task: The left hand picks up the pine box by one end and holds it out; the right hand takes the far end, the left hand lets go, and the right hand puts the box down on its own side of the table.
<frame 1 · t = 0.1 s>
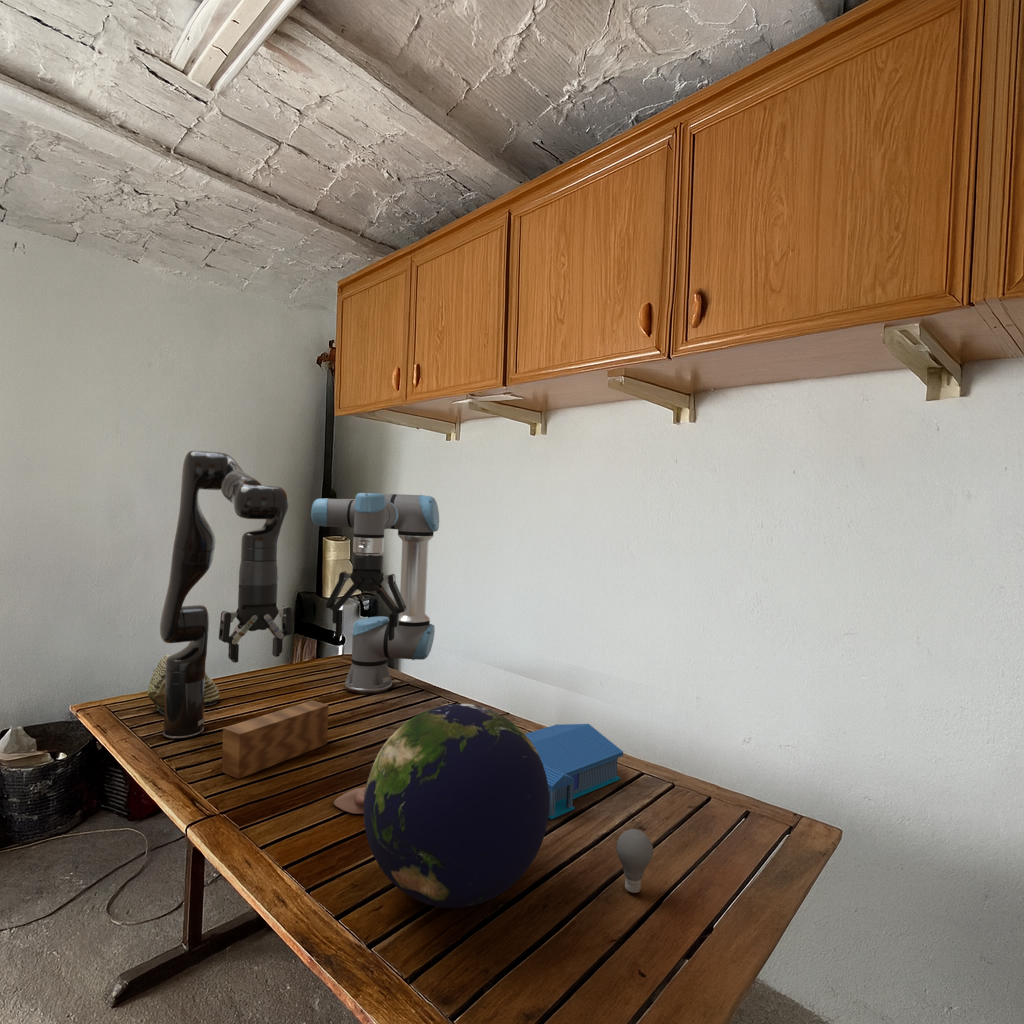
left hand: (255, 658, 132), 29 cm above the table, tool pointing down, fingers open, 8 cm apart
right hand: (364, 638, 160), 28 cm above the table, tool pointing down, fingers open, 13 cm apart
box: (277, 757, 153), on the table
model building: (534, 788, 142), on the table
anatomical model: (368, 802, 132), on the table
fossil: (183, 706, 185), on the table
globe: (453, 892, 103), on the table
light bulb: (632, 891, 106), on the table
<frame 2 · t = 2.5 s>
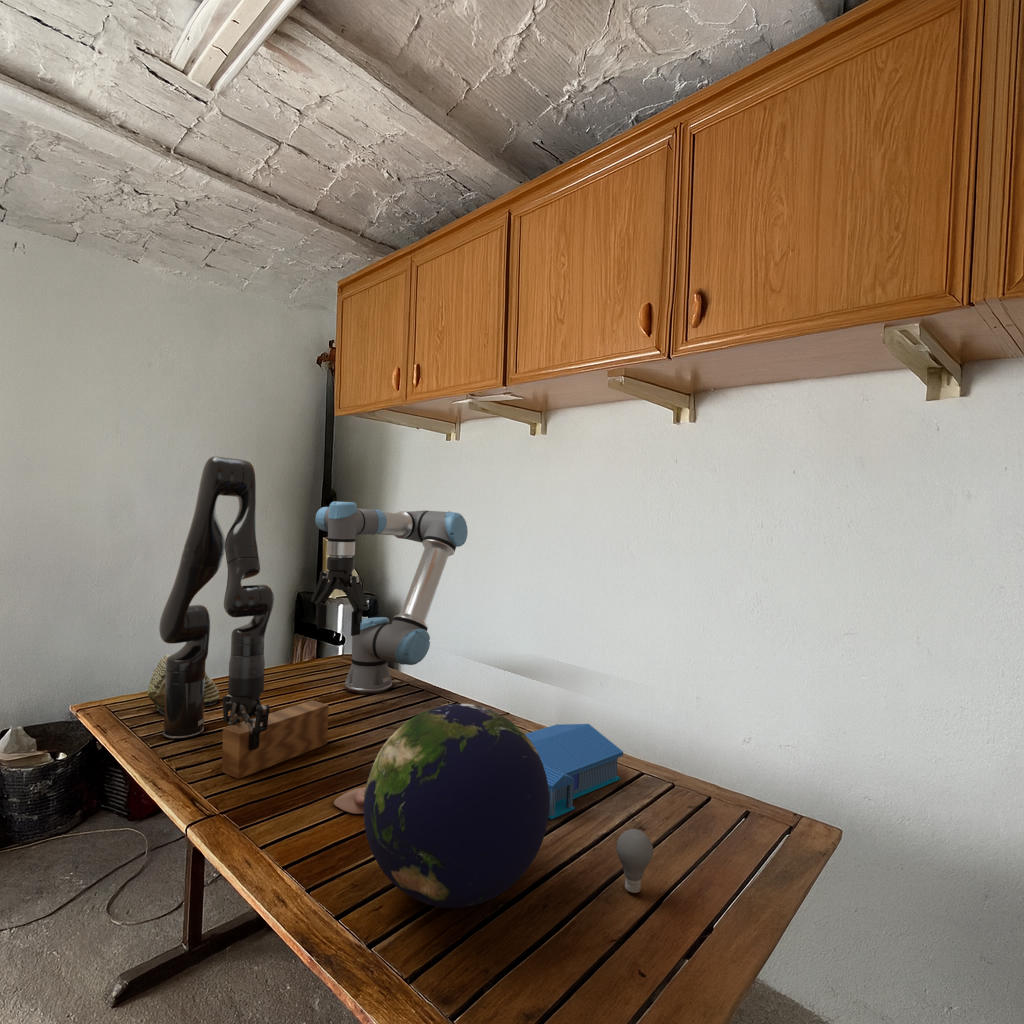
left hand: (244, 745, 145), 6 cm above the table, tool pointing down, fingers closed on box, 6 cm apart
right hand: (338, 631, 179), 25 cm above the table, tool pointing down, fingers open, 13 cm apart
box: (277, 757, 153), on the table, touching left hand
everything else where it was.
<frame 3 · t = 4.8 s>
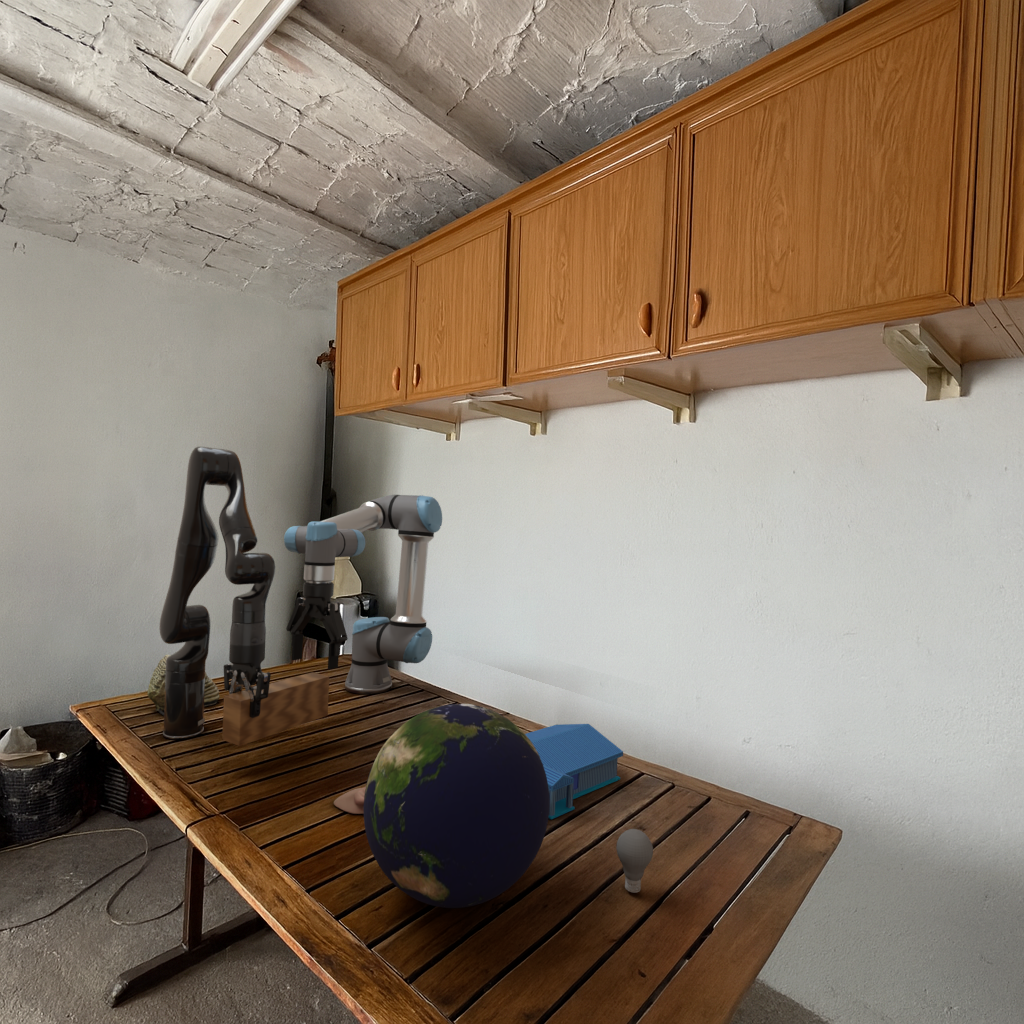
left hand: (245, 713, 145), 13 cm above the table, tool pointing down, fingers closed on box, 6 cm apart
right hand: (314, 664, 163), 20 cm above the table, tool pointing down, fingers open, 13 cm apart
box: (278, 726, 153), point 7 cm above the table, touching left hand
everything else where it was.
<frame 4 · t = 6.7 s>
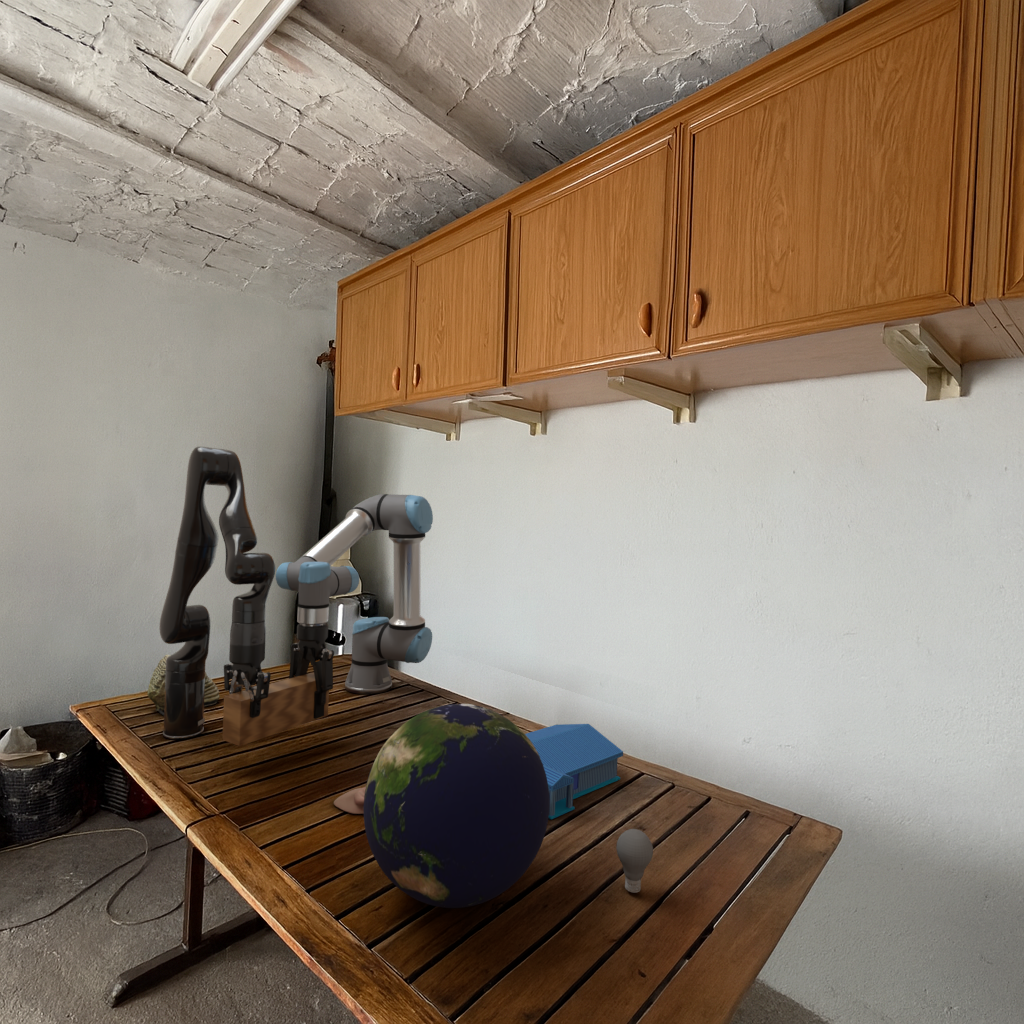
left hand: (245, 713, 144), 13 cm above the table, tool pointing down, fingers closed on box, 6 cm apart
right hand: (309, 713, 160), 8 cm above the table, tool pointing down, fingers closed on box, 6 cm apart
box: (278, 727, 153), point 7 cm above the table, touching left hand, right hand
everything else where it was.
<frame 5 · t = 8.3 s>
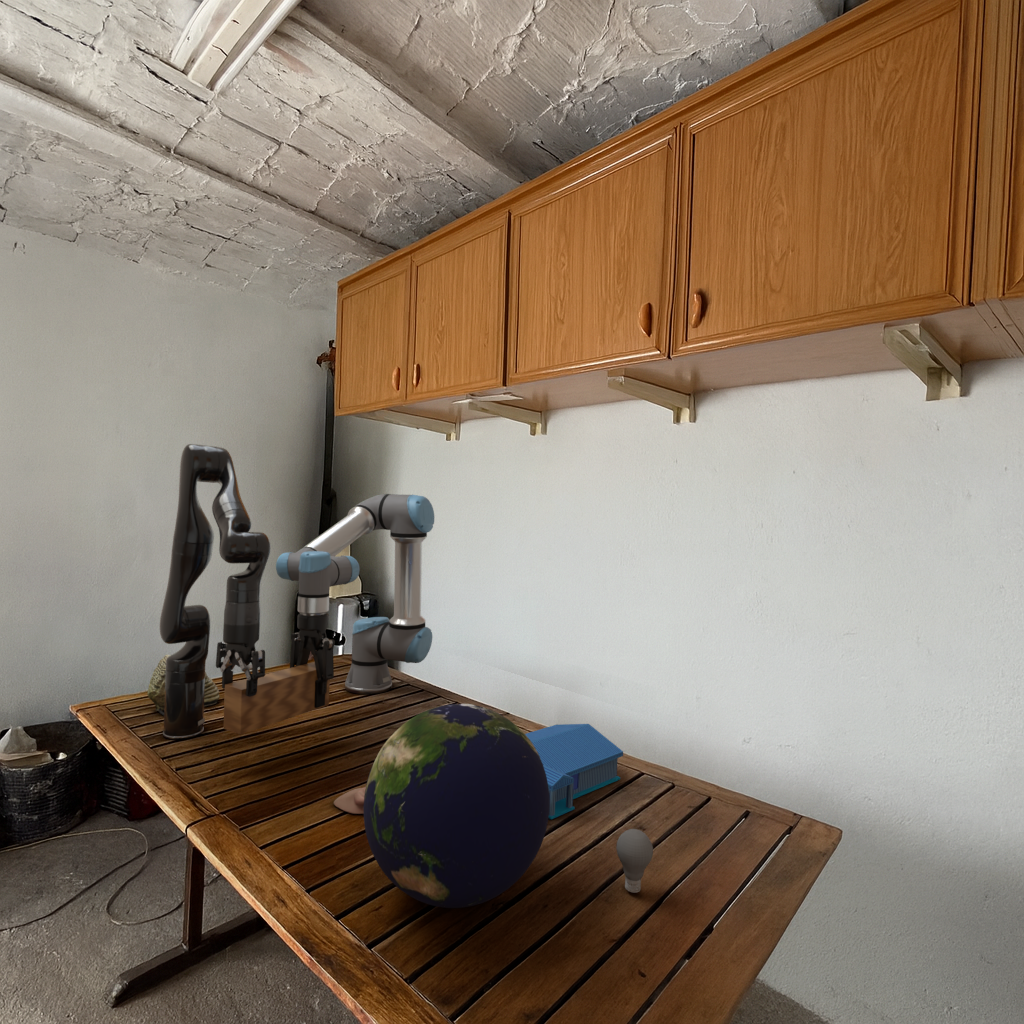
left hand: (238, 691, 143), 19 cm above the table, tool pointing down, fingers open, 8 cm apart
right hand: (310, 703, 161), 11 cm above the table, tool pointing down, fingers closed on box, 6 cm apart
box: (279, 716, 153), point 10 cm above the table, touching right hand
everything else where it was.
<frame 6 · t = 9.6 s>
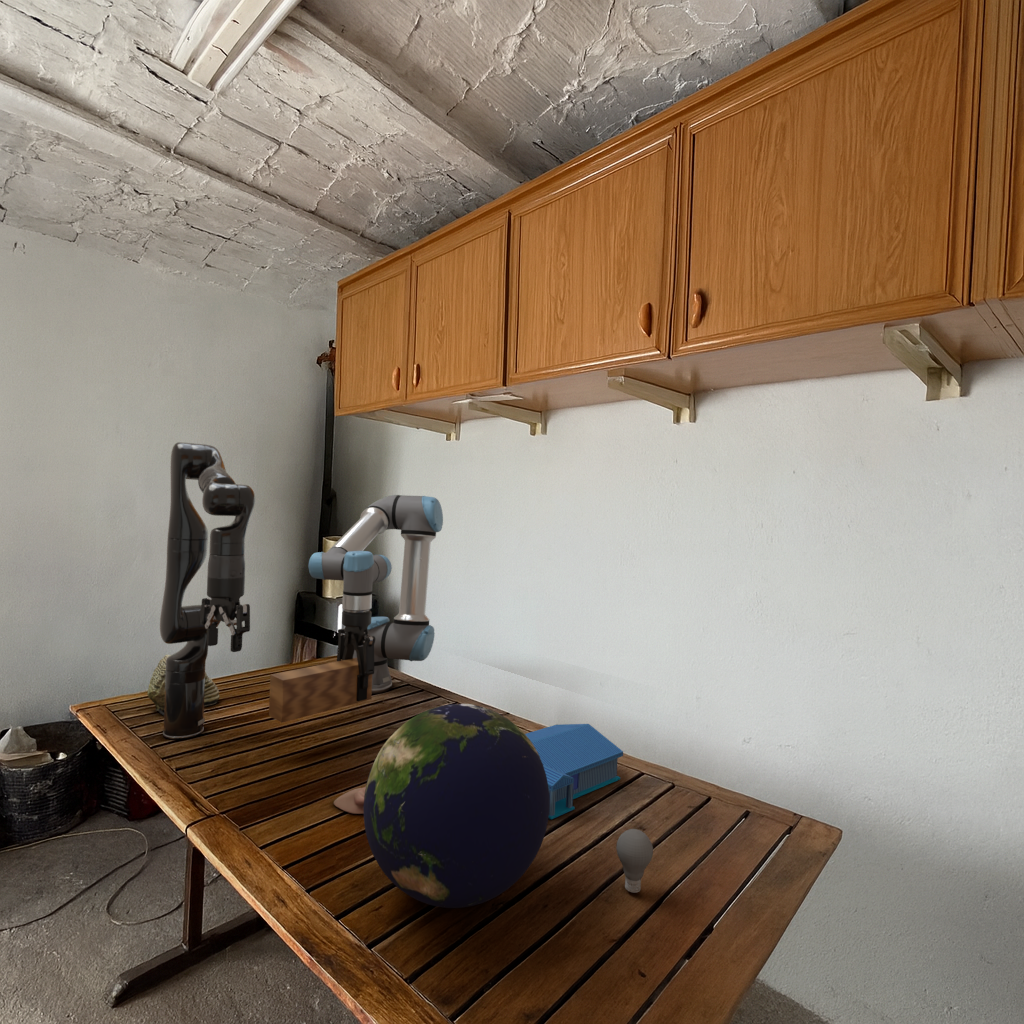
left hand: (223, 648, 139), 29 cm above the table, tool pointing down, fingers open, 8 cm apart
right hand: (354, 696, 168), 11 cm above the table, tool pointing down, fingers closed on box, 6 cm apart
box: (322, 707, 161), point 10 cm above the table, touching right hand
everything else where it was.
when the right hand's fingers open (2 cm above the table, at t = 13.0 s): box stays where it is, on the table.
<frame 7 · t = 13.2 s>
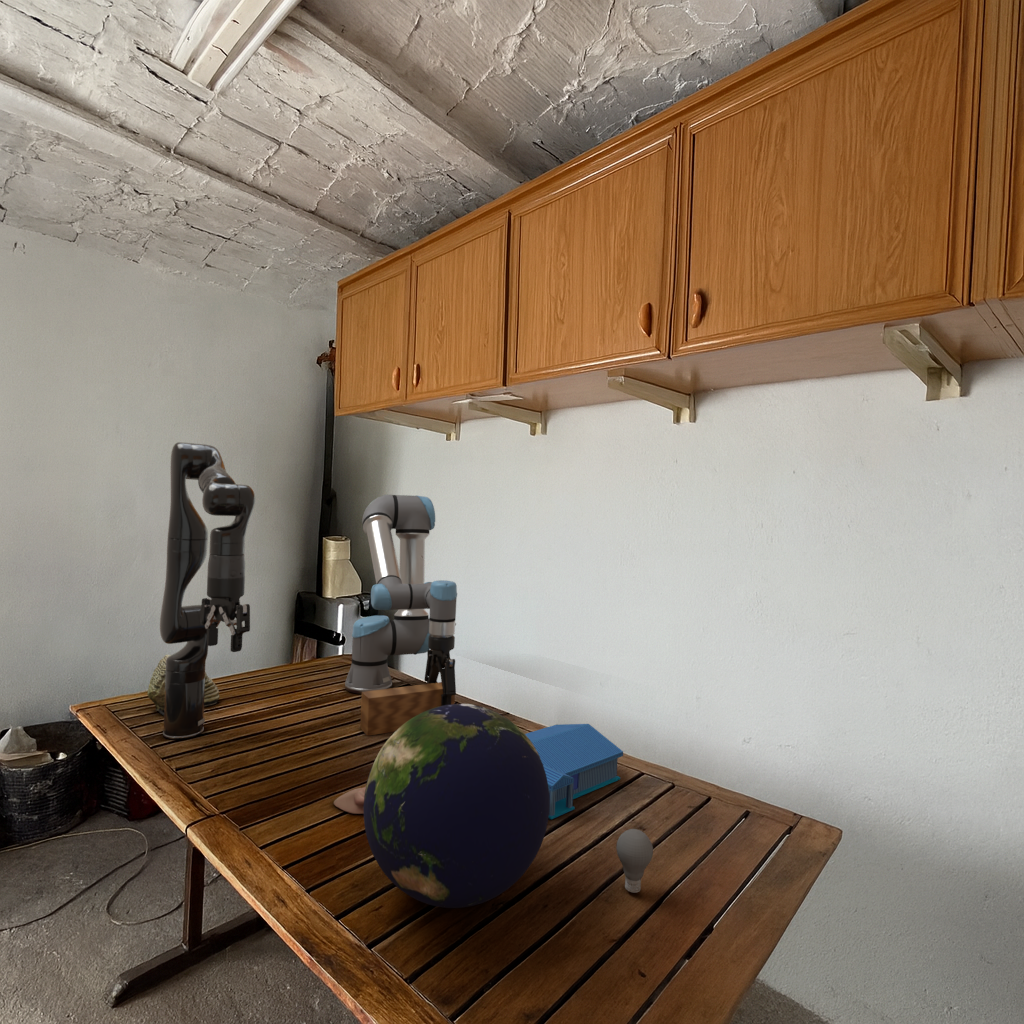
left hand: (223, 648, 139), 29 cm above the table, tool pointing down, fingers open, 8 cm apart
right hand: (438, 712, 183), 2 cm above the table, tool pointing down, fingers open, 9 cm apart
box: (408, 725, 178), on the table
everything else where it was.
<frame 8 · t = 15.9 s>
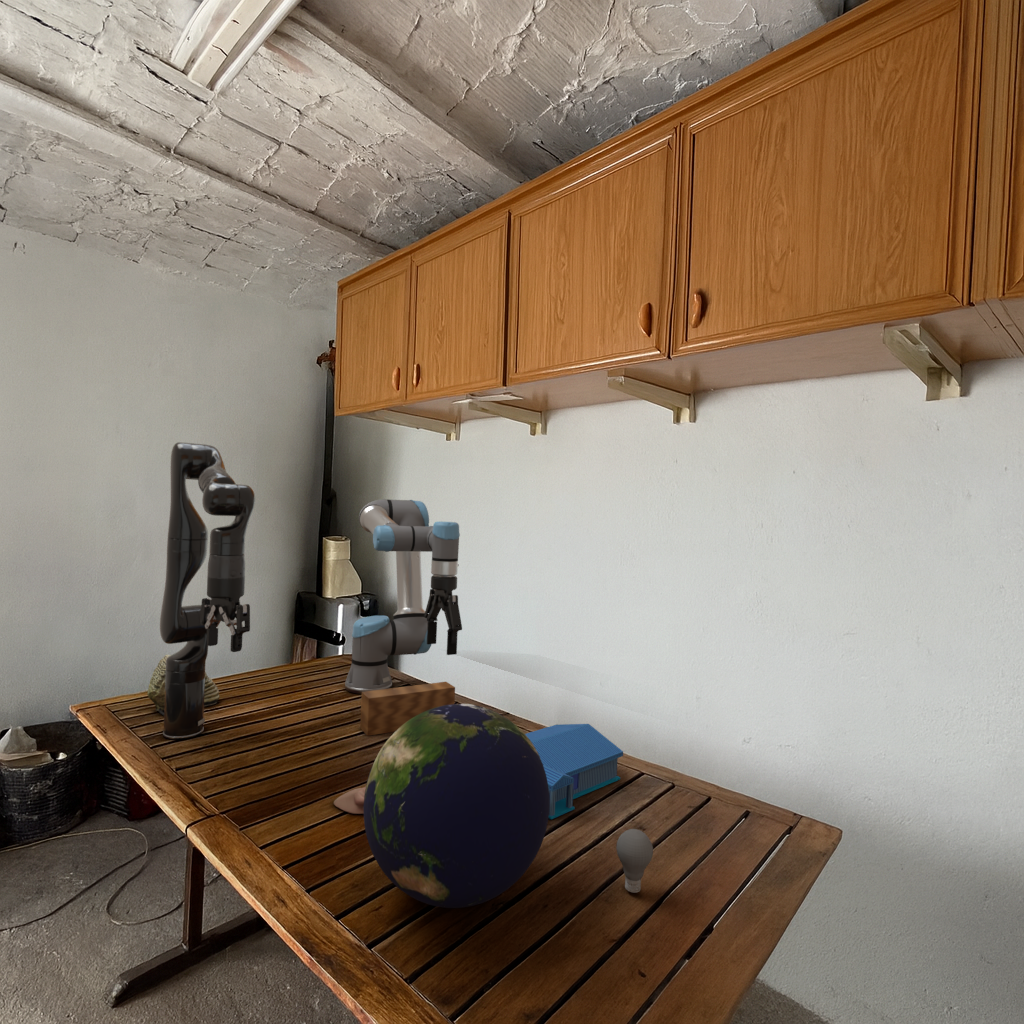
left hand: (223, 648, 139), 29 cm above the table, tool pointing down, fingers open, 8 cm apart
right hand: (441, 649, 182), 21 cm above the table, tool pointing down, fingers open, 13 cm apart
nothing on the table moved.
at the end: box inside the target area (9.2 cm from its centre), on the table; the left hand is holding nothing; the right hand is holding nothing; box at rest at the end (0.0 cm/s) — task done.
